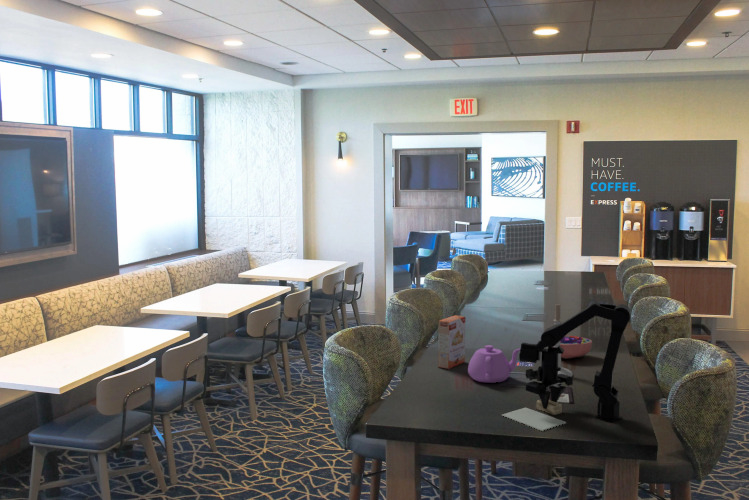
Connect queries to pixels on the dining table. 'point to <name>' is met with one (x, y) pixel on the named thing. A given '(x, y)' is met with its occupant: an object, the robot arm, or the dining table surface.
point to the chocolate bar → (564, 396)
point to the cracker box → (451, 341)
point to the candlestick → (558, 321)
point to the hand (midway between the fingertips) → (549, 407)
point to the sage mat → (534, 419)
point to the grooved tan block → (550, 407)
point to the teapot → (491, 365)
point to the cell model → (574, 346)
